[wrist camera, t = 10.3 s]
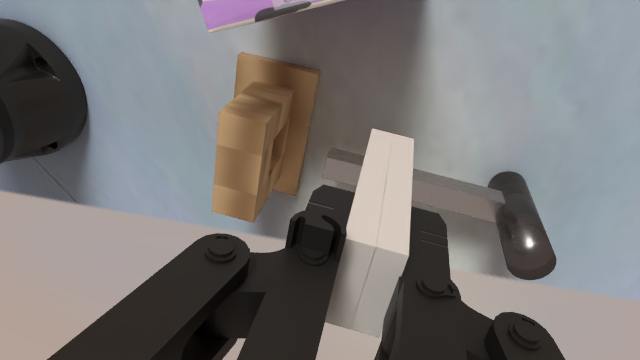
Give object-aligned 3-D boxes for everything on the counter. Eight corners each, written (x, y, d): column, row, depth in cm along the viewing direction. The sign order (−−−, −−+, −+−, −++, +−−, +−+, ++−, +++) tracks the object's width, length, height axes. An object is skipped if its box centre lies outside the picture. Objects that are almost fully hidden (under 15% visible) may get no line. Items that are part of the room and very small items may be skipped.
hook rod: (331, 158, 48) (306, 220, 38) (338, 127, 46) (313, 184, 36) (517, 206, 47) (544, 285, 36) (532, 176, 45) (564, 250, 35)
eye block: (230, 172, 52) (190, 222, 43) (242, 52, 45) (197, 82, 36) (297, 190, 51) (271, 245, 42) (320, 71, 44) (293, 106, 35)
